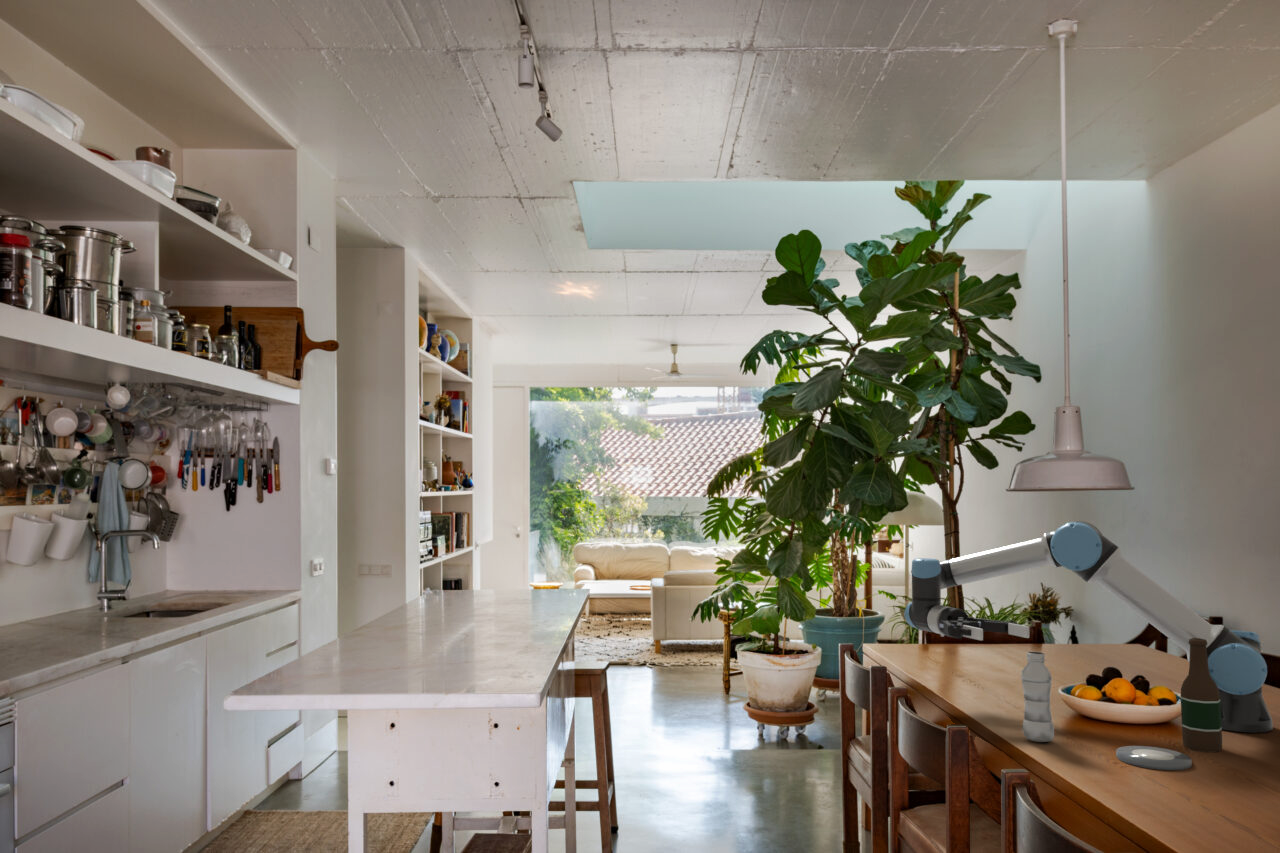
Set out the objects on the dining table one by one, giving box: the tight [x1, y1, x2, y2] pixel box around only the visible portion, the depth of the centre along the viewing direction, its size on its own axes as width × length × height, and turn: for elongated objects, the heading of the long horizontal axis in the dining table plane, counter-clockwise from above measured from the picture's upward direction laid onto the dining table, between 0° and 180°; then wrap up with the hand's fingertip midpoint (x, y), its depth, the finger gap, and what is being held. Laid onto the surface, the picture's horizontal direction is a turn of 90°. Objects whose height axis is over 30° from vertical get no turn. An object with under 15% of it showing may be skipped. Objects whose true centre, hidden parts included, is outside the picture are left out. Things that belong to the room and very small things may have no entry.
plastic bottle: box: [1020, 651, 1055, 743], centre depth 212 cm, size 6×7×20 cm
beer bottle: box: [1180, 638, 1223, 753], centre depth 207 cm, size 8×8×24 cm
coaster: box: [1115, 745, 1193, 771], centre depth 196 cm, size 14×14×1 cm
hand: (1005, 633), depth 222 cm, fingers open, 13 cm apart
